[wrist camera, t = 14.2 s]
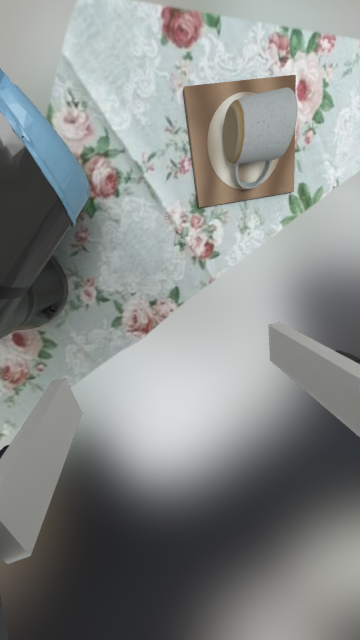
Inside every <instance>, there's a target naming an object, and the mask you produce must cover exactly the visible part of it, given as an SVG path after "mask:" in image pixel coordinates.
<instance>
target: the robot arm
mask: <svg viewBox="0 0 360 640" xmlns="http://www.w3.org/2000/svg"><path fill="white" fill-rule="evenodd" d="M89 193H90V189H89V182H88V180H87V176H86V174H85V172H84V170H83V169H82V167H81V165H80V164H79V162H78V160H77V159H76V158H75V156H74V155H73V153H72V152H71V150H70V149H69V148H68V146H67V145H66V144H65V142H64V141H63V140H62V138H61V137H60V136H59V135H58V133H57V132H56V131H55V129H54V128H53V127H52V126H51V124H50V123H49V122H48V121H47V120H46V118H45V117H44V116H43V115H42V114H41V112H40V111H39V110H38V109H37V108H36V106H35V105H34V104H33V103H32V102H31V101H30V100H29V98H28V97H27V96H26V95H25V94H24V93H23V92H22V90H21V89H20V88H19V87H18V86H16V85H14V84H13V83H12V82H11V81H10V79H9V78H8V77H7V75H6V74H5V73H4V72H3V71H2V70H1V69H0V339H2V338H3V337H5V336H6V335H8V334H10V333H11V332H13V331H15V330H25V329H32V328H36V327H39V326H41V325H43V324H45V323H47V322H49V321H50V320H51V319H53V318H54V317H55V316H57V315H58V314H59V313H60V311H61V310H62V309H63V307H64V305H65V303H66V300H67V295H68V285H67V280H66V277H65V274H64V272H63V270H62V268H61V266H60V265H59V263H58V262H57V261H56V260H55V258H54V257H53V256H52V255H53V253H54V252H55V250H56V249H57V247H58V246H59V244H60V243H61V241H62V240H63V238H64V237H65V235H66V234H67V232H68V231H69V229H70V228H71V226H72V227H74V226H75V224H76V218H77V217H78V215H79V213H80V212H81V210H82V208H83V207H84V205H85V203H86V202H87V200H88V198H89ZM269 345H270V361H271V362H273V363H274V364H275V365H276V366H277V367H279V368H280V369H281V370H282V371H283V372H285V374H287V375H288V376H289V377H290V378H291V379H293V380H294V381H295V382H296V383H297V384H299V385H300V386H301V387H302V388H303V389H304V390H305V391H307V392H308V393H309V394H310V395H311V396H312V397H314V398H315V399H316V400H317V401H318V402H319V403H321V404H322V405H323V406H324V407H325V408H326V409H328V410H329V411H330V412H331V413H332V414H334V415H335V416H336V417H337V418H338V419H339V420H340V421H342V422H343V423H344V424H345V425H346V426H348V427H349V428H350V429H351V430H352V431H353V432H354V433H356V434H357V435H358V436H359V437H360V359H359V358H357V357H355V356H353V355H351V354H349V353H345V352H342V351H338V350H337V351H333V350H332V349H330V348H328V347H326V346H324V345H322V344H320V343H318V342H316V341H314V340H312V339H310V338H309V337H306V336H305V335H303V334H301V333H299V332H297V331H295V330H293V329H291V328H289V327H287V326H286V325H284V324H282V323H280V322H278V323H274V324H270V325H269ZM81 415H82V412H81V410H80V407H79V405H78V403H77V401H76V399H75V397H74V395H73V393H72V390H71V388H70V386H69V384H68V382H67V380H66V378H64V379H60V380H56V381H53V382H52V383H51V385H50V386H49V387H48V389H47V390H46V392H45V393H44V395H43V396H42V398H41V399H40V401H39V402H38V404H37V405H36V407H35V408H34V410H33V411H32V413H31V414H30V416H29V417H28V419H27V420H26V422H25V423H24V424H23V426H22V427H21V429H20V431H19V432H18V434H17V435H16V436H15V438H14V439H13V441H12V442H11V444H10V445H7V446H5V447H4V448H3V449H2V450H0V557H1V558H2V559H3V560H4V561H5V562H6V563H7V564H8V563H11V562H14V561H17V560H20V559H23V558H26V557H29V556H31V553H32V550H33V547H34V545H35V542H36V539H37V536H38V533H39V531H40V528H41V525H42V522H43V519H44V517H45V514H46V511H47V509H48V506H49V503H50V501H51V498H52V495H53V492H54V489H55V487H56V484H57V481H58V478H59V476H60V473H61V470H62V467H63V465H64V462H65V459H66V456H67V453H68V451H69V448H70V445H71V442H72V440H73V437H74V434H75V431H76V429H77V426H78V423H79V420H80V417H81ZM0 640H9V638H8V633H7V628H6V623H5V618H4V613H3V608H2V603H1V598H0Z"/></svg>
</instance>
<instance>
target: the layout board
mask: <svg viewBox="0 0 360 640" xmlns="http://www.w3.org/2000/svg"><path fill="white" fill-rule="evenodd" d="M295 81H296V75H289V76H280V77H270V78H261V79H251V80H242V81H232V82H223V83H214V84H204V85H195V86H185V87H184V89H183V96H184V104H185V111H186V119H187V127H188V135H189V142H190V150H191V158H192V166H193V174H194V181H195V189H196V197H197V205H198V208H203V207H209V206H215V205H221V204H227V203H233V202H238V201H244V200H250V199H256V198H262V197H268V196H274V195H280V194H285V193H291V192H293V191H294V151H295V130H294V134H293V137H292V140H291V142H290V144H289V147H288V148H287V150H286V152H285V153H284V154H283V155H282V156H281V157H280V158H278V159H275V160H272V163H271V167H270V169H269V172H268V174H267V176H266V177H265V179H264V180H263V182H262V183H261V184H260V185H259V186H257V187H255V188H252V189H245V188H242V187H240V186H238V185H237V184H236V182H235V180H234V177H233V163H231V162H229V161H228V159H227V158H226V155H225V152H224V146H223V125H224V119H225V115H226V112H227V109H228V107H229V106H230V104H231V103H232V102H233V101H235V100H237V99H239V98H241V97H244V96H249V95H254V94H259V93H263V92H268V91H272V90H277V89H281V88H290V89H292V90H293V91H294V93H295ZM265 163H266V161H259V162H250V163H243V164H238V177H239V180H240V182H243V181H244V182H245V183H251V182H255V181H257V179H258V178H259V177H260V175H261V174H262V171H263V169H264V166H265Z"/></svg>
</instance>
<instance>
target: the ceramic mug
mask: <svg viewBox="0 0 360 640" xmlns="http://www.w3.org/2000/svg"><path fill="white" fill-rule="evenodd" d="M296 119H297V100H296V96H295V93H294V91H293V90H292V89H290V88H281V89H277V90H272V91H268V92H263V93H259V94H254V95H249V96H244V97H241V98H239V99H237V100H235V101H233V102H232V103H231V104H230V106H229V107H228V109H227V112H226V115H225V119H224V125H223V146H224V152H225V155H226V158H227V159H228V161H229V162H231V163H233V177H234V180H235V182H236V184H237V185H238V186H240V187H242V188H245V189H252V188H255V187H257V186H259V185H260V184H261V183H262V182H263V180H264V179H265V177H266V176H267V174H268V172H269V169H270V167H271V163H272V160H275V159H278V158H280V157H281V156H282V155H283V154H284V153H285V152H286V150H287V148H288V147H289V144H290V142H291V140H292V137H293V134H294V130H295V125H296ZM259 161H266V163H265V166H264V169H263V171H262V174H261V175H260V177H259V178H258V179H257V181H255V182H251V183H245V182H244V181H243V182H240V180H239V177H238V164H243V163H250V162H259Z"/></svg>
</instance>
